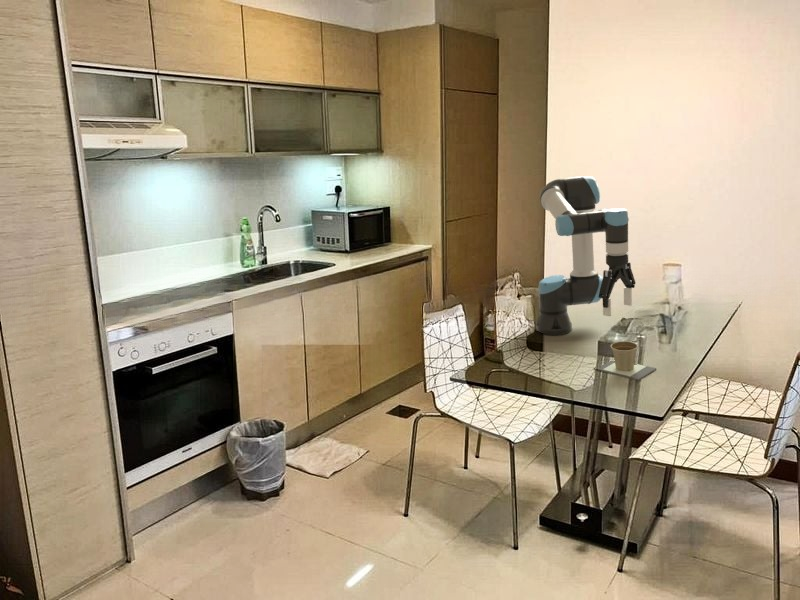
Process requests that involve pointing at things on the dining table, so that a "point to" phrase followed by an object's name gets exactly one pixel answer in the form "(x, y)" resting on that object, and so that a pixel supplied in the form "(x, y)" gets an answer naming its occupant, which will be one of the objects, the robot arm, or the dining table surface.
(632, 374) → the flat plate
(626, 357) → the flower pot
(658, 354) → the dining table surface
